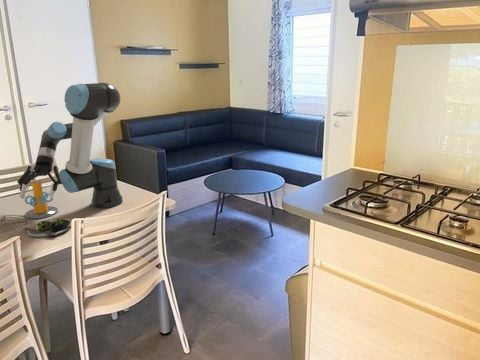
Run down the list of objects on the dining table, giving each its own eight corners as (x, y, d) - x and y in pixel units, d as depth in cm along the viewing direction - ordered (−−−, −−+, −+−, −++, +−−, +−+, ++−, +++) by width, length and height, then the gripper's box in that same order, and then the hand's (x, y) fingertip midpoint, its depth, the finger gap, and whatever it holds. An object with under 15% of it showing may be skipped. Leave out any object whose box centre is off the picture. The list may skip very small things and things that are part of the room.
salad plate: (14, 241, 158) (12, 230, 157) (33, 223, 175) (31, 214, 174) (63, 238, 159) (61, 228, 158) (77, 221, 176) (75, 212, 175)
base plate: (64, 210, 189) (63, 208, 189) (40, 221, 177) (39, 219, 176) (43, 206, 194) (43, 204, 194) (18, 216, 182) (18, 214, 182)
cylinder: (42, 217, 178) (37, 186, 174) (22, 215, 180) (17, 185, 176) (59, 207, 190) (54, 178, 186) (40, 206, 192) (35, 177, 187)
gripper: (73, 161, 194) (66, 199, 184) (23, 162, 193) (13, 201, 183) (68, 154, 187) (60, 193, 178) (16, 155, 187) (5, 194, 177)
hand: (36, 197), depth 180 cm, fingers open, 13 cm apart
